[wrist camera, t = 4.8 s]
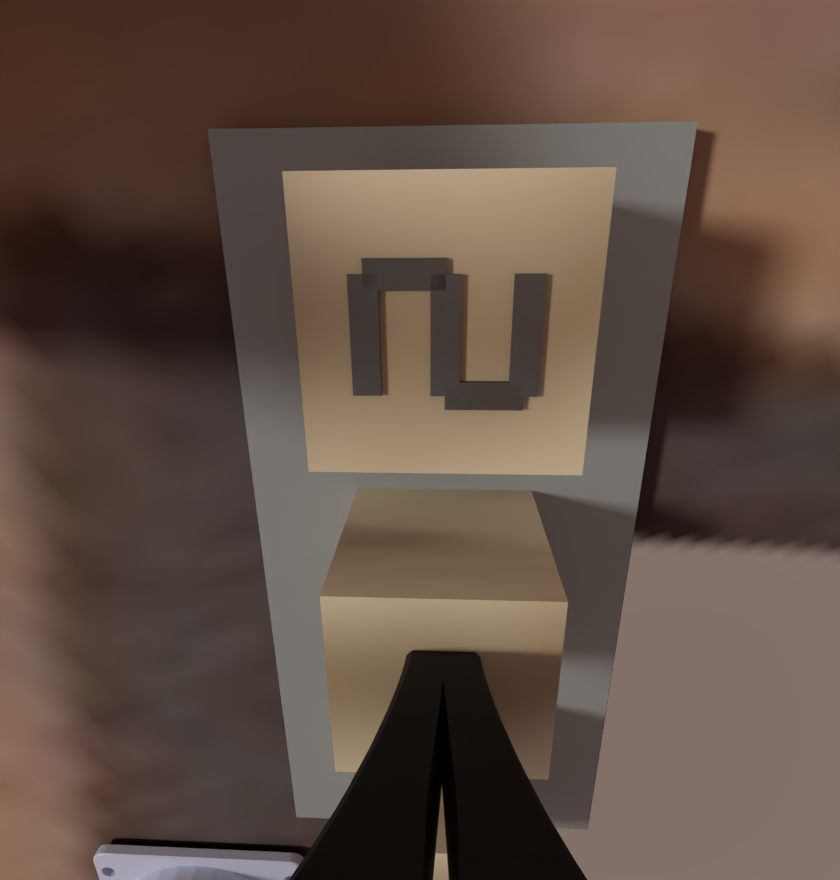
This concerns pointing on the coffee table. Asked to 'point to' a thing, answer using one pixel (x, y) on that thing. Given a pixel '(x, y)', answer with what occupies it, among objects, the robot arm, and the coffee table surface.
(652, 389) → the mat
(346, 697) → the plain block
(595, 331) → the block two
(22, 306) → the coffee table surface
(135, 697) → the coffee table surface
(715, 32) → the coffee table surface
